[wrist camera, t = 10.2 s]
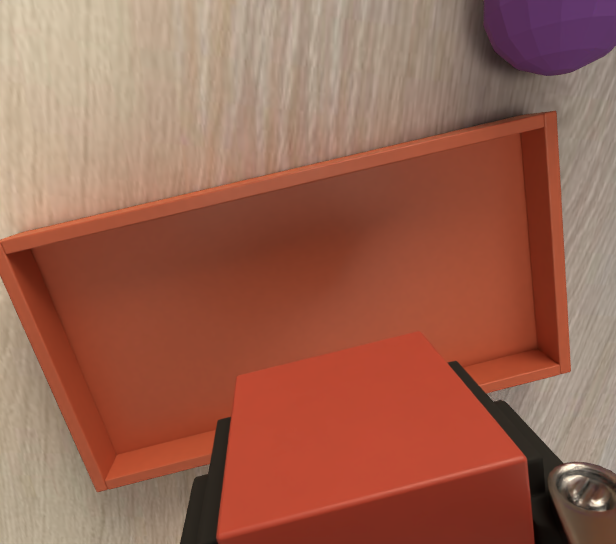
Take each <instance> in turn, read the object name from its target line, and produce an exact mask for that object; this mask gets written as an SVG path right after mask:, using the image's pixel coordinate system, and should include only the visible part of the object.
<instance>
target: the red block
mask: <svg viewBox="0 0 616 544" xmlns="http://www.w3.org/2000/svg"><path fill="white" fill-rule="evenodd" d="M216 539H217V542H218V544H535V541H534V530H533V519H532V508H531V497H530V487H529V476H528V465H527V458H526V456H525V455H524V454H523V453H522V451H521V450H520V449H519V448H518V447H517V445H516V444H515V443H514V442H513V441H512V440H511V438H510V437H509V436H508V435H507V434H506V432H505V431H504V430H503V429H502V428H501V426H500V425H499V424H498V423H497V422H496V420H495V419H494V418H493V417H492V416H491V414H490V413H489V412H488V411H487V410H486V409H485V407H484V406H483V405H482V404H481V403H480V401H479V400H478V399H477V398H476V397H475V395H474V394H473V393H472V392H471V391H470V389H469V388H468V387H467V386H466V385H465V384H464V382H463V381H462V380H461V379H460V378H459V376H458V375H457V374H456V373H455V372H454V370H453V369H452V368H451V367H450V366H449V364H448V363H447V362H446V361H445V360H444V359H443V357H442V356H441V355H440V354H439V353H438V351H437V350H436V349H435V348H434V347H433V345H432V344H431V343H430V342H429V341H428V339H427V338H426V337H425V336H424V335H423V333H422V332H421V331H417V332H413V333H408V334H404V335H400V336H396V337H392V338H388V339H384V340H380V341H376V342H372V343H368V344H364V345H360V346H356V347H352V348H348V349H344V350H340V351H336V352H332V353H328V354H324V355H319V356H315V357H311V358H307V359H303V360H299V361H295V362H291V363H287V364H283V365H279V366H275V367H271V368H267V369H263V370H259V371H255V372H251V373H247V374H243V375H239V376H237V377H236V382H235V390H234V398H233V406H232V413H231V421H230V429H229V437H228V445H227V453H226V461H225V469H224V477H223V485H222V493H221V501H220V509H219V517H218V525H217V533H216Z"/></svg>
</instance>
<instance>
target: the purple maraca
mask: <svg viewBox="0 0 616 544" xmlns="http://www.w3.org/2000/svg"><path fill="white" fill-rule="evenodd" d="M484 28H485V31H486V33H487V35H488V38H489V40H490V42H491V45H492V47H493V49H494V51H495V52H496V53H497V54H498V55H500V56H501V57H502V58H503V59H504V60H506V61H507V62H508V63H509V64H511V65H512V66H513V67H514V68H516V69H518V70H521V71H525V72H530V73H535V74H540V75H544V76H553V75H561V74H566V73H570V72H573V71H575V70H577V69H579V68H581V67H583V66H585V65H587V64H589V63H591V62H593V61H595V60H597V59H599V58H601V57H603V56H605V55H606V54H607V53H609V52H610V51H611V50H612V49H613V48H614V47H615V46H616V0H484Z"/></svg>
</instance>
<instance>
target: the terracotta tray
mask: <svg viewBox="0 0 616 544" xmlns="http://www.w3.org/2000/svg"><path fill="white" fill-rule="evenodd" d="M0 276H1V278H2V281H3V283H4V285H5V287H6V290H7V292H8V294H9V296H10V299H11V301H12V303H13V305H14V307H15V310H16V312H17V314H18V316H19V319H20V321H21V323H22V325H23V328H24V330H25V332H26V334H27V337H28V339H29V341H30V343H31V346H32V348H33V350H34V352H35V355H36V357H37V359H38V361H39V364H40V366H41V368H42V370H43V372H44V375H45V377H46V379H47V381H48V384H49V386H50V388H51V390H52V393H53V395H54V397H55V399H56V402H57V404H58V406H59V408H60V411H61V413H62V415H63V417H64V420H65V422H66V424H67V426H68V429H69V431H70V433H71V435H72V437H73V440H74V442H75V444H76V446H77V449H78V451H79V453H80V455H81V458H82V460H83V462H84V464H85V467H86V469H87V471H88V473H89V476H90V478H91V480H92V482H93V485H94V487H95V489H96V491H97V492H101V491H104V490H107V489H113V488H117V487H121V486H125V485H129V484H133V483H136V482H140V481H144V480H148V479H152V478H156V477H160V476H164V475H168V474H172V473H176V472H180V471H183V470H187V469H191V468H195V467H199V466H203V465H207V464H210V460H211V455H212V449H213V443H214V437H215V432H216V426H217V421H218V420H219V419H223V418H227V417H231V413H232V406H233V398H234V390H235V382H236V377H237V376H239V375H243V374H247V373H251V372H255V371H259V370H263V369H267V368H271V367H275V366H279V365H283V364H287V363H291V362H295V361H299V360H303V359H307V358H311V357H315V356H319V355H324V354H328V353H332V352H336V351H340V350H344V349H348V348H352V347H356V346H360V345H364V344H368V343H372V342H376V341H380V340H384V339H388V338H392V337H396V336H400V335H404V334H408V333H413V332H417V331H421V332H422V333H423V335H424V336H425V337H426V338H427V339H428V341H429V342H430V343H431V344H432V345H433V347H434V348H435V349H436V350H437V351H438V353H439V354H440V355H441V356H442V357H443V359H444V360H445V361H446V362H447V363H448V362H452V361H457V362H458V363H459V364H460V365H461V366H462V367H463V368H464V369H465V370H466V372H467V373H468V374H469V375H470V376H471V377H472V378H473V379H474V381H475V382H476V383H477V384H478V385H479V386H480V387H481V388H482V390H483V391H484V392H485V393H489V392H493V391H497V390H501V389H505V388H509V387H513V386H517V385H521V384H525V383H529V382H533V381H537V380H540V379H544V378H548V377H552V376H556V375H560V374H563V373H567V372H570V371H571V365H570V347H569V329H568V311H567V293H566V275H565V257H564V239H563V221H562V203H561V185H560V167H559V149H558V131H557V113H556V111H549V112H541V113H533V114H525V115H520V116H516V117H511V118H507V119H503V120H499V121H494V122H490V123H486V124H482V125H477V126H473V127H469V128H464V129H460V130H456V131H452V132H447V133H443V134H439V135H435V136H430V137H426V138H422V139H418V140H413V141H409V142H405V143H401V144H396V145H392V146H388V147H384V148H379V149H375V150H371V151H367V152H362V153H358V154H354V155H350V156H345V157H341V158H337V159H333V160H328V161H324V162H320V163H316V164H311V165H307V166H303V167H299V168H294V169H290V170H286V171H282V172H277V173H273V174H269V175H265V176H260V177H256V178H252V179H248V180H243V181H239V182H235V183H230V184H226V185H222V186H218V187H213V188H209V189H205V190H201V191H196V192H192V193H188V194H184V195H179V196H175V197H171V198H167V199H162V200H158V201H154V202H150V203H145V204H141V205H137V206H133V207H128V208H124V209H120V210H116V211H111V212H107V213H103V214H99V215H94V216H90V217H86V218H82V219H77V220H73V221H69V222H65V223H60V224H56V225H52V226H48V227H43V228H39V229H35V230H31V231H26V232H22V233H18V234H15V235H13V236H10V237H7V238H4V239H1V240H0Z"/></svg>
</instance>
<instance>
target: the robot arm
mask: <svg viewBox="0 0 616 544" xmlns="http://www.w3.org/2000/svg"><path fill="white" fill-rule="evenodd" d="M448 364H449V366H450V367H451V368H452V369H453V370H454V372H455V373H456V374H457V375H458V376H459V378H460V379H461V380H462V381H463V382H464V384H465V385H466V386H467V387H468V388H469V389H470V391H471V392H472V393H473V394H474V395H475V397H476V398H477V399H478V400H479V401H480V403H481V404H482V405H483V406H484V407H485V409H486V410H487V411H488V412H489V413H490V414H491V416H492V417H493V418H494V419H495V420H496V422H497V423H498V424H499V425H500V426H501V428H502V429H503V430H504V431H505V432H506V434H507V435H508V436H509V437H510V438H511V440H512V441H513V442H514V443H515V444H516V445H517V447H518V448H519V449H520V450H521V451H522V453H523V454H524V455H525V456H526V458H527V465H528V476H529V487H530V497H531V508H532V519H533V530H534V541H535V544H616V474H615V473H613V472H612V471H610V470H608V469H606V468H603V467H601V466H599V465H595V464H591V463H586V462H570V463H563V462H562V461H561V460H560V459H559V458H558V457H557V456H556V455H555V454H554V453H553V452H552V451H551V450H550V449H549V447H548V446H547V445H546V444H545V443H544V442H543V441H542V440H541V439H540V438H539V437H538V436H537V435H536V434H535V433H534V431H533V430H532V429H531V428H530V427H529V426H528V425H527V424H526V423H525V422H524V421H523V420H522V419H521V418H520V417H519V415H518V414H517V413H516V412H515V411H514V410H513V409H512V408H511V407H510V406H509V405H508V404H507V403H506V402H505V401H502V400H499V401H495V402H493V401H492V400H491V399H490V397H489V396H488V395H487V394H486V393H485V392H484V391H483V390H482V388H481V387H480V386H479V385H478V384H477V383H476V382H475V381H474V379H473V378H472V377H471V376H470V375H469V374H468V373H467V372H466V370H465V369H464V368H463V367H462V366H461V365H460V364H459V363H458V362H457V361H452V362H448ZM230 421H231V417H227V418H223V419H219V420H218V421H217V426H216V432H215V437H214V443H213V449H212V455H211V460H210V466H209V472H208V474H206V475H202V476H198V477H196V478H195V479H194V482H193V486H192V490H191V495H190V500H189V505H188V509H187V514H186V519H185V523H184V528H183V533H182V537H181V542H180V544H218V542H217V539H216V533H217V525H218V517H219V509H220V501H221V493H222V485H223V477H224V469H225V461H226V453H227V445H228V437H229V429H230Z"/></svg>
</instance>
